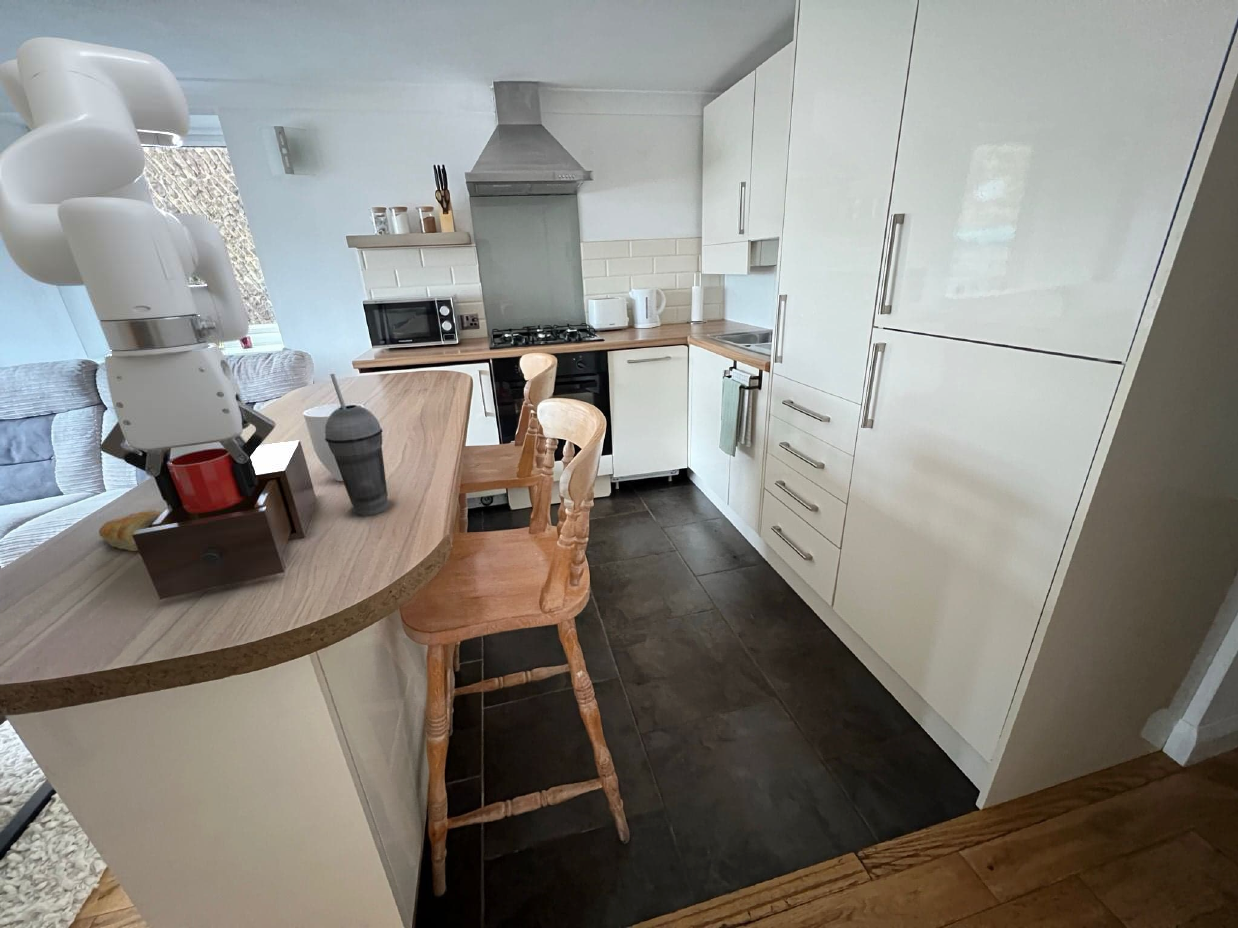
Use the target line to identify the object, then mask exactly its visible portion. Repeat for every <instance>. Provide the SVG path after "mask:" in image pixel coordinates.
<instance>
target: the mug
mask: <svg viewBox="0 0 1238 928" xmlns="http://www.w3.org/2000/svg"><path fill="white" fill-rule="evenodd" d="M344 403H345V406H348V405H356V406H360V407H363V408H365V405H363V404H360V403H353V402H344ZM340 407H341V405H340V403H331V404H324V405H319V406H315V407H312V408H309V409H307V410H304V411H303V413H302V415H303V418H304V421H305V424H306V428H307V432H308V434H309V439H310V441H311V444H312V447H313V450H314V452H315V454H316V456H317V459H318V460H319V462H320V463H321V464H322V465H323V466H324V467H325V469H326V470H327V471H328V472H329V474H330V475H331V476H332V477H333V479H334V480H335V481H338V482H343V479H342V476H341V473H340V471H339V468H338V465H337V462H336V460H335V457H334V454H332V452H331V450H330V448H329V446H328V443H327V442H326V441H325V424H326V421H327V419H328V417H329V416H330V415H331V414H332V413H333V412H334V411H335V410H336V409H338V408H340Z"/></svg>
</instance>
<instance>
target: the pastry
mask: <svg viewBox="0 0 1238 928" xmlns="http://www.w3.org/2000/svg"><path fill="white" fill-rule="evenodd" d="M163 512H164V511H157V510H153V509H152V510H145V511H139V512H133V513H131V514H127V515H125V516H122V517H119V518H114V519H111V520H108V521H107V522H105V523H104V524H103V525H102V526H101V527H100V529H99V531H98V535H99V537H100V538H102V539H103V540H104V541H106V542H107V543H109V544H110V546H111V547H113V548H117V549H119V550H127V551H131V552H137V551H139V550H138V548H137V546H136V543H135V541H134V539H133V537H132V534H133V533H134V532H135V531H136V530H139V529H145V528H151V527H152V524H153V522H154V521H155V520H156V519H157V518H158V517H159V516H160V515H161V514H162V513H163Z"/></svg>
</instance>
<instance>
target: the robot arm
mask: <svg viewBox="0 0 1238 928" xmlns="http://www.w3.org/2000/svg"><path fill="white" fill-rule="evenodd" d="M0 83H1V86H2V89H3V90H4V92H5V94H6V96H7V98H8V100H9V102H10V103H11V105H12V106H13V108H14V109H15V111H16V112H17V114H18V115H19V116H20V118H21V119H22V121H23V122H24V123H25V125H26V126H27V127H28V128H29V130H30V131H28V132H27V133H26V134H24V135H22V136H21V137H19V138H17V139H16V140H15V141H13V142H12V143H11V144H10V145H8V146H7V147H6V148H5V149H4V150H2V152H0V236H1V239H2V242H3V244H4V246H5V248H6V250H7V253H8V254H9V257H10V258H11V259H12V261H13V262H14V264H15V265H16V266H17V267H18V268H19V269H20V271H22V272H23V273H24V274H25V275H27V276H28V277H30V278H31V279H33V280H35V281H38V282H40V283H42V284H46V285H51V286H56V287H79V286H80V287H82V286H84V287H85V290H86V292H87V294H88V297H89V300H90V302H91V305H92V307H93V310H94V313H95V315H96V317H97V320H98V323H99V326H100V327H101V330H102V332H103V335H104V338H105V340H106V342H107V345H108V348H109V351H110V353H108V354H105V355H104V367H105V374H106V379H107V386H108V390H109V394H110V399H111V402H112V406H113V409H114V412H115V415H116V419H117V422H116V423H115V425H114V426H113V427H112V428H111V430H110V431H109V432H108V435H107V436H106V437H105V439H104V440H103V441H102V442H101V444H100V445H99V450H100V451H101V452H103V453H105V454H107V455H110V456H112V457H114V458H117V459H119V460H123V461H124V462H125V463H126V464H128V465H130V466H133V467H135V468H137V469H139V470H141V471H143V472H145V475H147V476H149V477H152V478H153V479H154V481H155V483H156V486H157V488H158V490H159V491H158V492H159V494H160V496H161V499H162V500H163V501H164V502H166V501H169V504H170V507H171V509H179V508H180V507H181V506H182V503H181V500H180V498H179V495H178V492H177V490H176V487H175V485H174V482H173V480H172V477H171V474H170V472H169V469H168V467H167V464H166V463H167V462H168V461H169V460H170V459H173V458H175V457H177V456H180V455H183V454H187V453H190V452H195V451H199V450H205V449H212V448H225V449H226V450H227V451H228V453H229V454H230V455H231V456H232V457H233V459H234V462H235V464H233V465H232V470H233V473H234V476H235V478H236V481H237V484H238V487H239V490H240V493H241V496H242V497H243V496H244V497H250V496H251V494H252V492H253V491H254V489H255V486H257V485H258V478H257V475H256V472H255V469H254V466H253V463H252V460H251V456H252V454H253V453H254V452H255V451H256V449H257V448H258V447H259V446H261V445H262V443H263V442H264V441H265V440H266V438H268V436H269V435H270V434H271V432H273V430H274V429H275V428H276V425H277V423H276V422H275V421H274V420H272V419H270V418H269V417H268V416H265V414H262V413H260V412H259V411H257V410H256V409H254V408H253V407H250V406H249V405H248V404H246V401H245V399H244V397H243V394H242V392H241V389H240V387H239V384H238V381H237V380H236V378H235V375H234V373H233V371H232V369H231V367H230V364H229V363H228V361H227V358H226V357H225V355H224V353H223V351H222V350H221V347H220V346H219V344H218V343H228V342H235V341H240V340H242V339H244V338H245V337H247V336H248V333H249V329H250V328H249V319H248V315H247V311H246V308H245V305H244V302H243V298H242V294H241V291H240V287H239V284H238V281H237V277H236V274H235V270H234V267H233V264H232V260H231V256H230V254H229V251H228V248H227V245H226V242H225V239H224V237H223V235H222V233H221V231H220V230H219V228H218V227H217V226H216V224H215V223H214V222H213V221H212V220H211V219H209V218H207V217H206V216H203V215H200V214H196V213H183V212H182V213H181V212H167V211H165V210H162V209H159V208H158V207H157V206H156V204H155V202H154V198H153V195H152V192H151V189H150V186H149V182H148V180H147V178H146V176H145V174H143V173H144V172H145V170H146V167H147V166H146V165H147V157H146V153H145V150H144V147H143V146H153V147H162V148H163V147H164V148H178V147H182V146H183V145H184V144H185V142H186V141H187V137H188V135H189V132H190V126H191V118H190V116H191V115H190V110H189V106H188V102H187V98H186V96H185V94H184V91H183V89H182V87H181V85H180V83H179V81H178V79H177V78H176V76H175V74H173V71H171V69H170V68H168V66H166V64H165V63H163V62H162V61H161V60H160V59H158V58H157V57H155V56H153V55H151V54H148V53H145V52H142V51H139V50H133V49H127V48H122V47H120V48H119V47H115V46H110V45H109V46H108V45H103V44H97V43H92V42H91V43H90V42H85V41H80V40H75V39H69V38H62V37H54V36H53V37H51V36H40V37H34V38H31V39H28V40H26V41H25V42H23V43H22V44H21V45H20V47H19V48H18V50H17V54H16V59H11V60H7V61H5V62H3V63H1V64H0ZM192 277H193V278H197V279H201V280H202V281H203V282H204V283H205V284H199V285H197V284H196V285H189V282H188V279H189V278H192ZM250 425H252V426H253V427H255V430H254V432H253V434H251V436H250V437H249V438H248V439H247V440H246V439H245V438H244V437H243V436H242V434H243V432H244V431H243V430H245V429H247V428H248V427H250Z"/></svg>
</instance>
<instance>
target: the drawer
mask: <svg viewBox="0 0 1238 928" xmlns="http://www.w3.org/2000/svg"><path fill="white" fill-rule="evenodd" d="M162 512H163V513H162V514H161V515H160V516H159V517H158V518H157V519H156V520H155V521H154V522H153V524H152V527H151V528H145V529H139V530H136V531H135V532H134V533H133V534H132V537H133V539H134V541H135V543H136V546H137V548H138V550H137V551H138V553H139V555H140V557H141V559H142V561H143V564H144V566H145V568H146V571H147V573H148V575H149V579H150V580H151V582H152V584H153V586H154V589H155V591H156V594H157V595H158V598H159V600H164V599H169V598H174V597H178V596H182V595H183V596H184V595H188V594H193V593H197V592H201V591H207V590H211V589H214V588H219V587H224V586H229V585H233V584H237V583H241V582H247V581H252V580H257V579H261V578H265V577H269V576H274V575H279V574H283V573H285V571H286V569H287V566H286V563H285V560H284V556H283V554H284V552H285V549H286V546H287V543H288V541H289V540H288V538H289V535H290V532H291V530H292V527H293V523H292V519H291V516H290V513H289V509H288V506H287V503H286V499H285V496H284V493H283V490H282V486H281V483H280V480H279V477H277V478H270V479H264V480H258V485H257V486H255V489H254V491H253V492H252V494H251V496H250V497H246V498H245V499H244V500H242V501H240V502H239V503H236V504H234V505H232V506H229V507H226V508H223V509H219V510H215V511H210V512H203V513H189V512H186V511H185V510H184V507H183V505H182V506H181V507H180V508H179V509H171V507H170V505H169V506H167V507H166V508H165V509H164V510H163V511H162Z"/></svg>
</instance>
